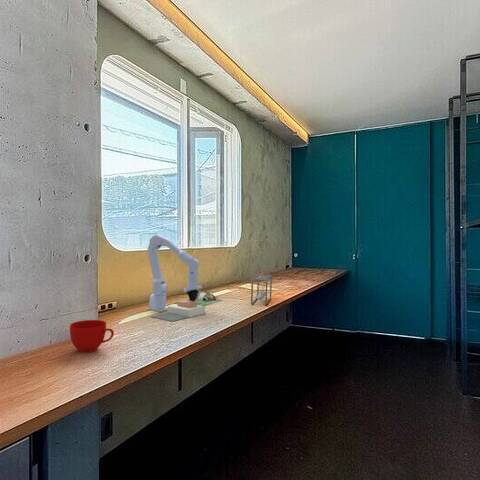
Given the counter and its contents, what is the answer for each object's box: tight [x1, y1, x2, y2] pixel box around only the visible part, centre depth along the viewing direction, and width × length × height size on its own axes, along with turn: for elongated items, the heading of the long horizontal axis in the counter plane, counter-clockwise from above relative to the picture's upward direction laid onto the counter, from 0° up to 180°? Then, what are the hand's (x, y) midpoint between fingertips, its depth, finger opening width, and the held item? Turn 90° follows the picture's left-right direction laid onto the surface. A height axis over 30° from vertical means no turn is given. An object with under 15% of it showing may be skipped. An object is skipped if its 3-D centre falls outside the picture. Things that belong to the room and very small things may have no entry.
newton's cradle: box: [250, 273, 273, 306], centre depth 252 cm, size 30×10×18 cm, turn 169°
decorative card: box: [173, 289, 223, 307], centre depth 246 cm, size 33×8×20 cm
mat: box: [150, 312, 189, 323], centre depth 198 cm, size 16×12×1 cm
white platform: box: [166, 304, 206, 318], centre depth 210 cm, size 16×14×4 cm
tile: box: [176, 299, 197, 308], centre depth 210 cm, size 9×7×2 cm
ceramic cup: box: [69, 319, 115, 353], centre depth 141 cm, size 13×17×10 cm
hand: (192, 302), depth 214 cm, fingers closed
